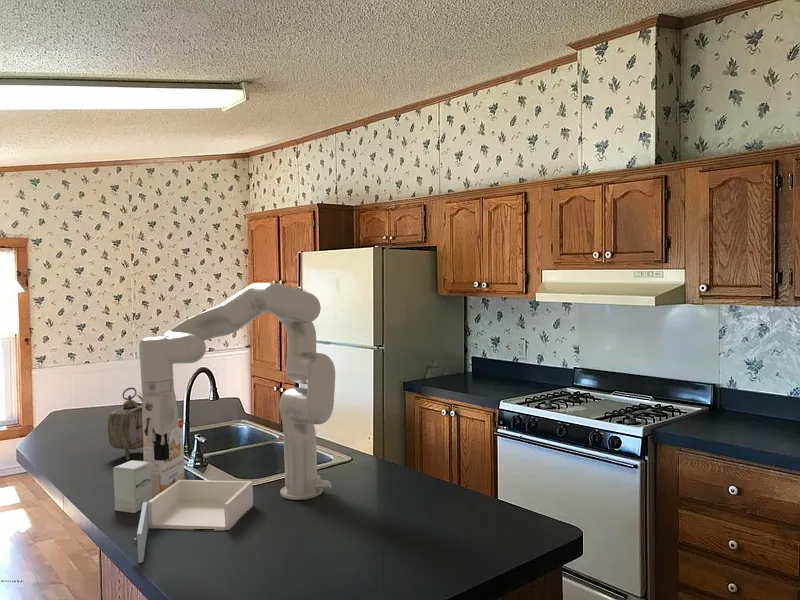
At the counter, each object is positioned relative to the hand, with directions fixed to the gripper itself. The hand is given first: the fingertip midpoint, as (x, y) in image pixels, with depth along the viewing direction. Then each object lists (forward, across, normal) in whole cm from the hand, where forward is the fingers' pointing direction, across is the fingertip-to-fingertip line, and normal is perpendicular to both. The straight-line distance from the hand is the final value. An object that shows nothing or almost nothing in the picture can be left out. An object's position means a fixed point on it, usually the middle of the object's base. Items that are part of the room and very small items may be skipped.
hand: (161, 459), depth 169 cm
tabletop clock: (+21, +71, +49) cm, 89 cm away
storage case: (+21, +16, -3) cm, 26 cm away
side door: (+20, -4, +5) cm, 21 cm away
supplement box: (+21, +21, +20) cm, 36 cm away
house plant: (+21, +114, +65) cm, 133 cm away
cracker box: (+21, +36, +18) cm, 45 cm away
